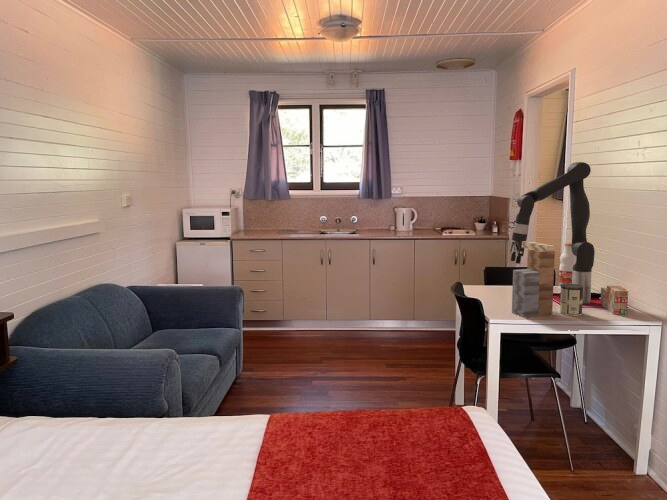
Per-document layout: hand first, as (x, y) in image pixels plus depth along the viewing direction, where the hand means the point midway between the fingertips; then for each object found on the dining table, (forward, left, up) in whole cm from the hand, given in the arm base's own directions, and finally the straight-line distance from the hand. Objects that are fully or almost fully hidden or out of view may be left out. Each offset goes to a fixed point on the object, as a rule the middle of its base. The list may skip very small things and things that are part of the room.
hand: (515, 262), depth 278 cm
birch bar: (-13, +16, +10) cm, 23 cm away
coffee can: (-30, +11, -23) cm, 39 cm away
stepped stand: (-13, +21, -22) cm, 33 cm away
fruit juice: (-22, -47, -23) cm, 57 cm away
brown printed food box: (-47, -7, -23) cm, 53 cm away
